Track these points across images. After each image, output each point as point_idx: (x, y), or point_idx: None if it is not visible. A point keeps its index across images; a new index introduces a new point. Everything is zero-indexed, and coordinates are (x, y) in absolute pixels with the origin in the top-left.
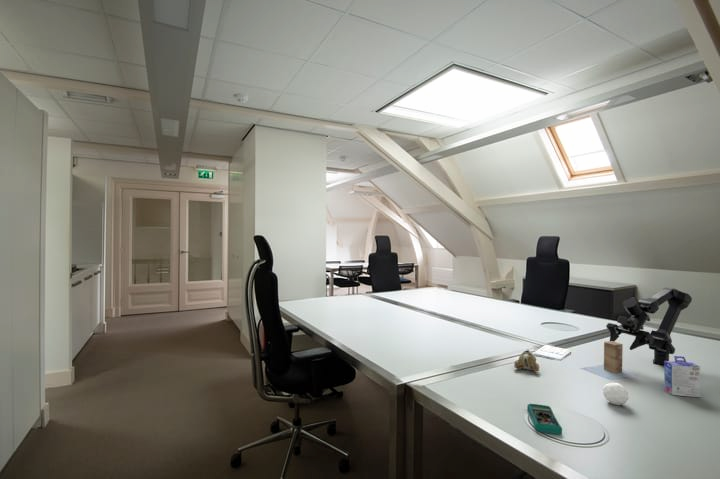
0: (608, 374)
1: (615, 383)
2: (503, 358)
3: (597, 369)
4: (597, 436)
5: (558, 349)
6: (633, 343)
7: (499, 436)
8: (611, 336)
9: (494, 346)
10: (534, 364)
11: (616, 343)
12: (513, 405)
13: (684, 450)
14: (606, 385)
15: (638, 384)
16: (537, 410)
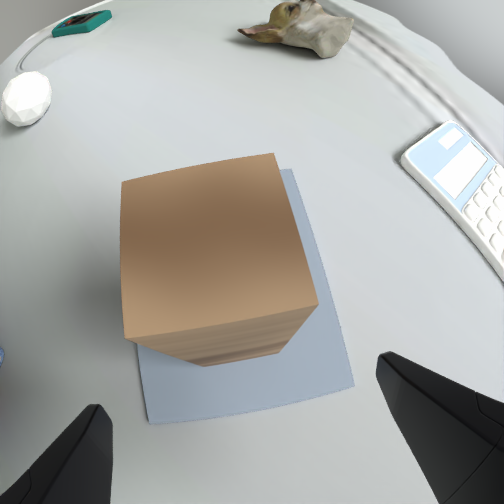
0: None
1: (15, 79)
2: (379, 45)
3: None
4: (25, 62)
5: None
6: (48, 460)
7: (90, 6)
8: (461, 401)
9: (482, 89)
10: (271, 27)
11: (169, 261)
12: (131, 8)
13: None
14: (34, 71)
15: (60, 296)
16: (90, 16)
